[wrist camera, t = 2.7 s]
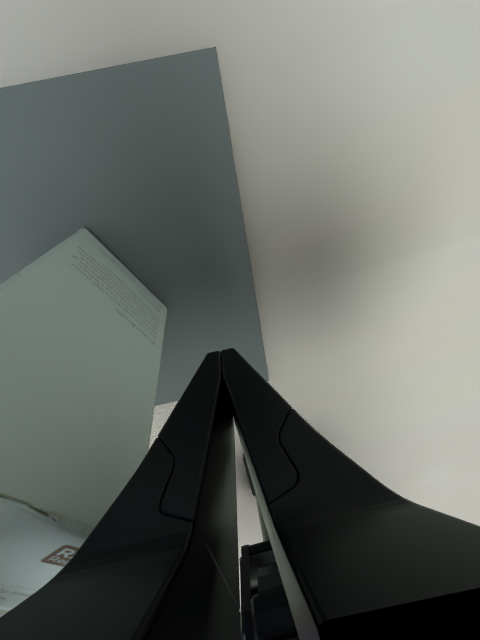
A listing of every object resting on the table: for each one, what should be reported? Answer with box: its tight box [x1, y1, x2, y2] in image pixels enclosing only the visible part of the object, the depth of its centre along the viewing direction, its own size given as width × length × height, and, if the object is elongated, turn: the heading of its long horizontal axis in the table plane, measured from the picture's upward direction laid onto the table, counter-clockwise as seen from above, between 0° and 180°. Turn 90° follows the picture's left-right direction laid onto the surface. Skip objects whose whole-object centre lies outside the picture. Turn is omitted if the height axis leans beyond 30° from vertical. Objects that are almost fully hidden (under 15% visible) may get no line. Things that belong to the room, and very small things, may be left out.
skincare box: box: [0, 228, 167, 611], centre depth 10 cm, size 6×4×12 cm
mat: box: [0, 47, 269, 406], centre depth 16 cm, size 18×24×1 cm
